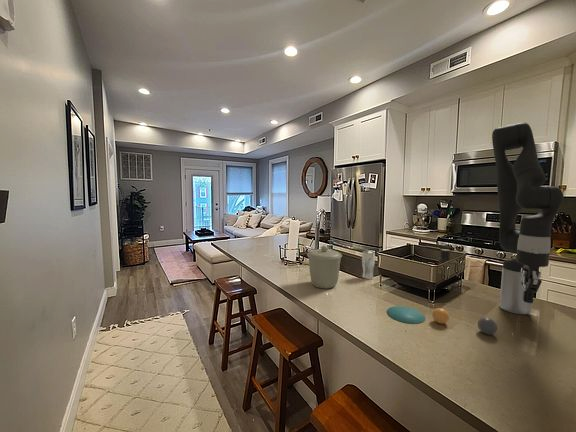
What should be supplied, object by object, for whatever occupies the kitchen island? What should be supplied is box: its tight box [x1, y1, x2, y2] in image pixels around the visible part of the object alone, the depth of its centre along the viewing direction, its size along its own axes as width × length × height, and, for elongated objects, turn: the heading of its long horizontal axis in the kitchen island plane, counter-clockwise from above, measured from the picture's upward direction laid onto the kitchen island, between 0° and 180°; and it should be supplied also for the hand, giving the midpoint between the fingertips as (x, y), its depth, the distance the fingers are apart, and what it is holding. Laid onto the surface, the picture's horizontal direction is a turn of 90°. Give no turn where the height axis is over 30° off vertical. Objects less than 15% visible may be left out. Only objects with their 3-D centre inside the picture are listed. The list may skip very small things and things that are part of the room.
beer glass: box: [361, 250, 376, 280], centre depth 145 cm, size 7×7×15 cm
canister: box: [306, 245, 343, 289], centre depth 134 cm, size 18×18×21 cm
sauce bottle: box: [437, 248, 452, 291], centre depth 129 cm, size 6×6×20 cm
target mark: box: [386, 305, 426, 325], centre depth 103 cm, size 14×14×1 cm
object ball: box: [431, 307, 450, 325], centre depth 96 cm, size 6×6×6 cm
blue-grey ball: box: [477, 316, 498, 335], centre depth 89 cm, size 6×6×6 cm
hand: (527, 301), depth 83 cm, fingers closed
